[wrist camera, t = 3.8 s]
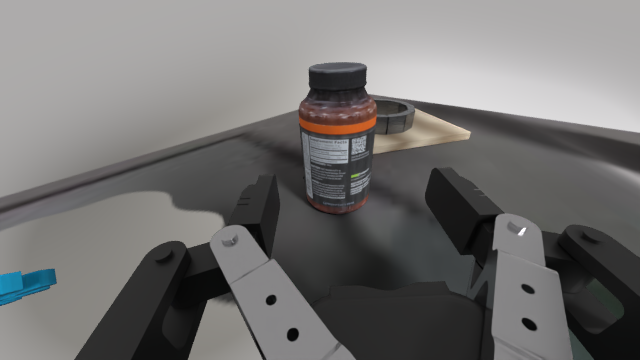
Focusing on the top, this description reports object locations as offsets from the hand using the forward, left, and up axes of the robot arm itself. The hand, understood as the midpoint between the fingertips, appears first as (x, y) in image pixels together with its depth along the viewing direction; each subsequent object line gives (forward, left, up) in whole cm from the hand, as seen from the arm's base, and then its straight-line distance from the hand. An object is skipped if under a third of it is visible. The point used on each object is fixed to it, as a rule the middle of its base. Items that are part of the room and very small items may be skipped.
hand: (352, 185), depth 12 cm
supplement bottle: (-2, -7, -7) cm, 10 cm away
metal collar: (-14, -22, -6) cm, 27 cm away
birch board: (-14, -22, -6) cm, 27 cm away
